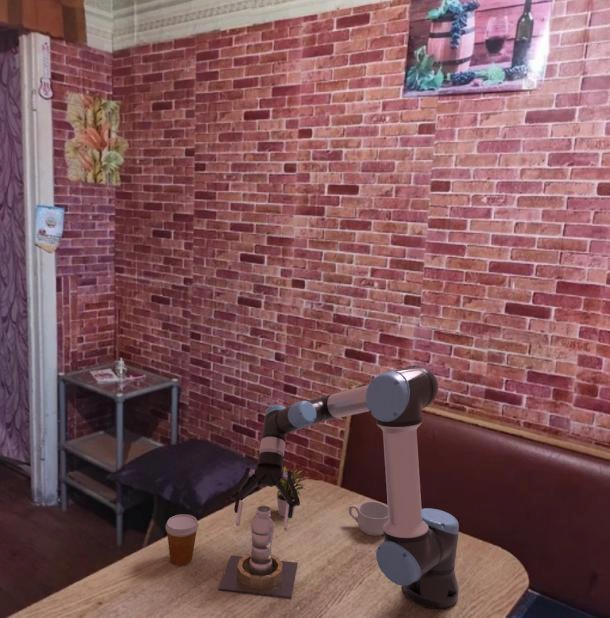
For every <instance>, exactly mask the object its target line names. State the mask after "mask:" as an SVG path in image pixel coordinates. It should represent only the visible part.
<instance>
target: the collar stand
mask: <svg viewBox="0 0 610 618" xmlns="http://www.w3.org/2000/svg"><path fill="white" fill-rule="evenodd" d="M250 558H251V553H247V554H246V555H244V556H241V555H240V556H239V555H234V554H233V555H230V557H229V560H228V562H227V565H226V566H225V570H224V573H223V575H222V578H221V580H220V583H219V586H218V587H217V591H220V592H229V593H238V594H246V595H247V594H248V595H257V596H265V597H274V598H282V599H283V598H284V599H289V600H291V599H292V597H293V592H294V586H295V580H296V576H297V570H298V565H299V563H298V561H297V562H295V561H287V560H281V559H280V558H279V557H277V556H275V555H273V554H271V559H272V571H271V574H270V575H266V576H255V575H251V573H250V571H249V562H250Z"/></svg>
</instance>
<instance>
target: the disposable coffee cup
mask: <svg viewBox="0 0 610 618" xmlns="http://www.w3.org/2000/svg"><path fill="white" fill-rule="evenodd" d="M199 526H200V524H199V522H198V520H197V518H196V517H195V516H194V515H191V514H176V515H174V516H171V517H169V519H168V520H167V522H166V523H165V526H164V527H165V528H164V529H165V531H166V533H167V542H168V544H167V545H168V553H169V562H170V563H171V565H173V566H178V567H179V566H180V567H182V566H186V565H188V564H190V563H191V562H192V561H193V555H194V548H195V543H196V537H197V531H198V530H199Z"/></svg>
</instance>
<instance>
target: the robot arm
mask: <svg viewBox="0 0 610 618" xmlns="http://www.w3.org/2000/svg"><path fill="white" fill-rule="evenodd" d="M438 393H439V381H438V380H437V377H436V376H435V374H434V373H433V371H432V370H430V369H428V368H427V367H425V366H422V365H410V366H406V367H401V368H398V369H394V370H393V369H392V370H388V371H384V372H383V373H381V374H379V375H376V376H375V377H374V378H373V379H371V381H370V383H369V384H366V385H362V386H359V387H355V388H352V389H348V390H347V389H346V390H344V391H340V392H336V393H332V394H327V395H326V394H325V395H323V396H321V397H317V398H313V399H310V400H301V401H298V402H295V403H293V404H292V405H289V406H287V407H286V406H284V405H279V404H275V405H270V406H268V407H267V408H266V410H265V415H264V418H263V425H262V433H261V440H260V445H259V451H258V452H259V454H258V459H257V464H256V468H255V469H252V468H250V467H249V466H248V467H247V466H246V468H245V471H244V474H243V476H242V477H241V479H240V480H239V481H238V482H237V484H236V485H235V487H234V488H233V490H232V491H231V492H230V495H229V496H230V499H231V500H234V501H235V503H234V508H233V509H234V513H235V514H236V519H235V526H237V527H240V524H241V518H242V511H243V506H244V505H243V504H244V502H243V500H244V499H245V498H246V497H248V495H249V494H250V493H252V492H253V490H255V489H256V488H257V487H259V486H262V487H269V488H270V487H271V488H273V487H276V489H277V491H280V493H281V494H282V496H283V497H284V499H285V500H286V501H287V503H288V504H289V505H287V504H286V512H285V517H284V521H283V522H284V523H283V531H287V530H288V525H289V524H288V523H289V519H293V516H294V514H293V508H294V506H295V507H296V506H297V507H299V506H301V500H300V496H299V495H298V494H297V492H296V487H295V484H293V481H292V475H293V474H292V473H293V472H292V471H291V470H288V473H284V471H283V465H284V456H285V449H286V440H287V435H288V434H291V433H293V432H296V431H300V430H302V429H305V428H308V427H311V426H314V425H317V424H320V423H323V422H326V421H330V420H331V421H332V420H336V419H338V418H339V419H340V418H343V417H348V416H353V415H359V414H362V413H367V412H371V413H370V414H371V416H372V417H373V418H374V419H375V421H376V422H375V423H376V426H377V427H378V428H380V429H381V430H382V437H383V438H382V439H383V452H384V453H383V454H384V467H385V471H384V472H385V483H386V499H387V506H388V517H389V520H388V521H387V522H386V523H385V524H384V526H383V532H384V533H383V541H382V542H381V543H380V544H379V546H378V547H377V549H376V553H375V558H376V562H377V566H378V567H379V569H380V571H381V573H383V575H384V576H385V577H386V578H387V580H389V581H390V582H391V583H394V584H395V585H398V586H402V589H403V592H404V594H405V595H406V597H408V598H409V599H410V600H411V601H412V602H414V603H415V604H416V605H417V604H418V605H420V606H422V607H424V608H429V609H434V610H435V609H438V610H439V609H442V610H443V609H447V608H450V607H452V606H454V605H455V604H456V603H457V601H458V600H459V589H460V588H459V585H458V579H457V576H456V570H455V567H456V566H455V565H456V558H457V549H458V541H459V534H460V531H459V530H460V529H459V526H460V525H459V521H458V520H457V518H456V517H455V516H453V515H452V514H451V513H449V512H447V511H444V510H441V509H436V508H432V507H431V508H426V507H425V508H422V497H421V493H422V492H421V481H420V480H421V479H420V466H419V465H420V464H419V449H418V448H419V446H418V445H419V444H418V431H417V430H418V428H419V427H420V426H421V424H423V416H422V415H423V414H422V409H425V408H427V407H429V406H430V405H431V404H433V403H434V402H435V400H436V398H437V396H438ZM253 475H254V476H255V478H254V479H253V480H252V482H250V484H248V485H247V486H246V487H245V488H244V486H245V485H246V483H248V480H249V479H250V478H251V477H252V476H253ZM283 477H284V478H285V480H288V484H289V487H290V489H291V492H292V495H293V498H294V501H292V499H291V498H290V496H289V495H288V493H287V492H286V490H285V489H284V487H283V486H282V484H281V483H280V480H281V479H282V480H283ZM243 488H244V489H243ZM242 489H243V490H242ZM292 515H293V516H292ZM287 532H288V531H287Z"/></svg>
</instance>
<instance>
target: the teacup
mask: <svg viewBox="0 0 610 618" xmlns="http://www.w3.org/2000/svg"><path fill="white" fill-rule="evenodd" d="M353 509H355V511H356V513H357V515H355V514H354V512H353ZM348 514H349V516H350V517H351V518H352V519H354V520H355V523H357V525H358V528H359V529H360V530H361V532H363V533H364V534H365V535H367V536H370V537H378V536H381V535H384V532H383V526H384V524H385V523H386V522H387V521H388V520H389V517H388V505H386V504H384V503H383V502H380V501H374V500H373V501H372V500H369V501H364V502H361V503H360V504H359V505H357V504H354V503H353V504H351V505H350V506H349V507H348Z"/></svg>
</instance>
